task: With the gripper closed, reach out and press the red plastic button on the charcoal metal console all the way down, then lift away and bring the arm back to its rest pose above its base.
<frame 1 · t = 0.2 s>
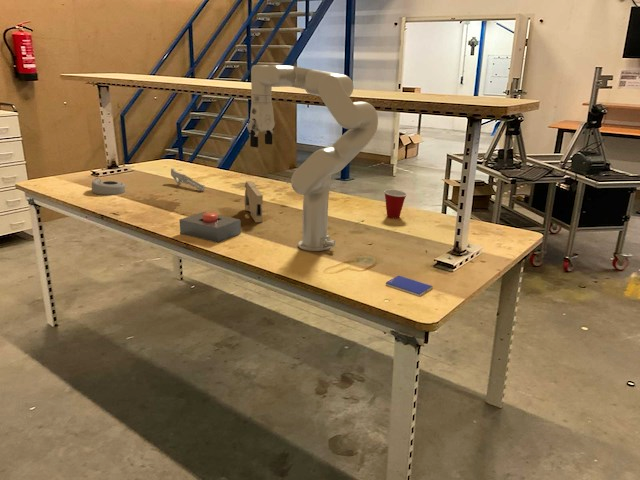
hand: (261, 145, 199), 36 cm above the workbench, tool pointing down, fingers open, 9 cm apart
plastic cup: (393, 217, 242), on the workbench
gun: (253, 216, 237), on the workbench
gun 2: (188, 187, 288), on the workbench
console: (210, 233, 210), on the workbench
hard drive: (408, 288, 165), on the workbench
button: (210, 218, 208), point 7 cm above the workbench, slide at 0.0 cm
turbocharger housing: (108, 192, 273), on the workbench
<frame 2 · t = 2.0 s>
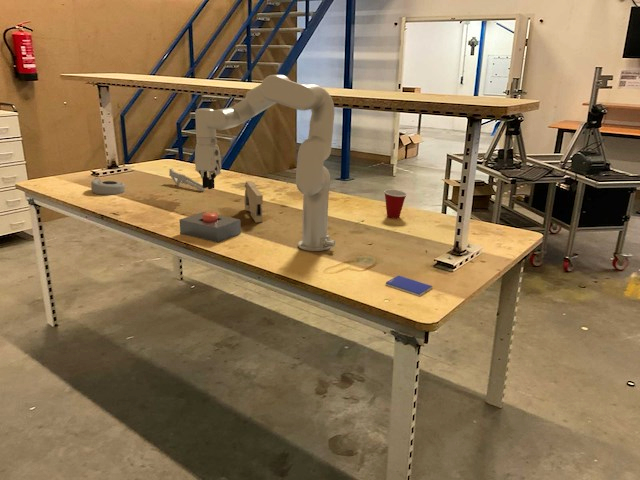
hand: (208, 187, 204), 19 cm above the workbench, tool pointing down, fingers closed
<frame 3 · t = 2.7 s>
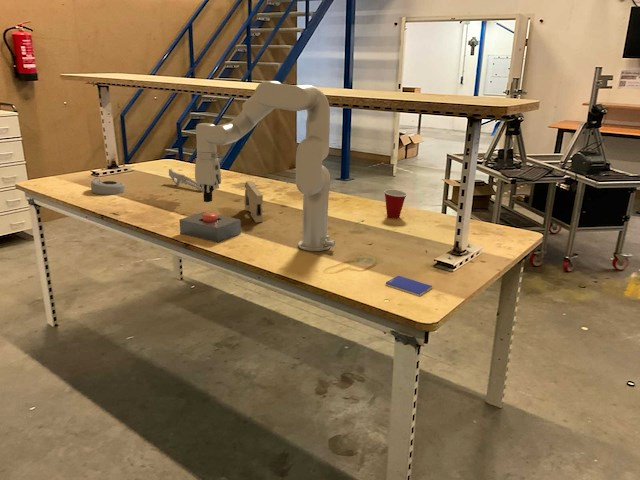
hand: (208, 201, 206), 14 cm above the workbench, tool pointing down, fingers closed
nothing on the workbench moved.
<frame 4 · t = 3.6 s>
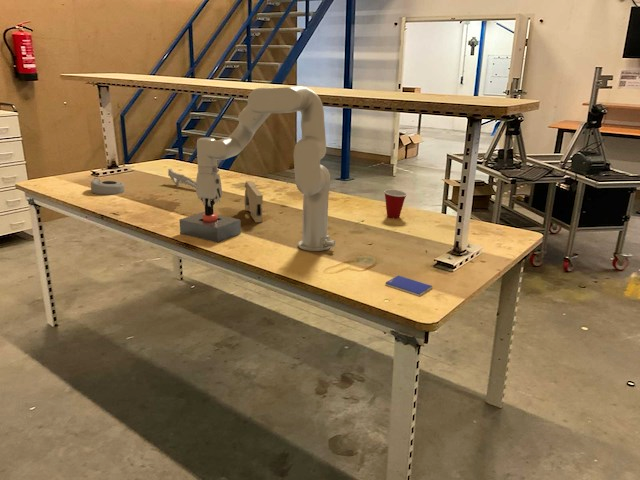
hand: (209, 214, 208), 8 cm above the workbench, tool pointing down, fingers closed
button: (210, 218, 208), point 6 cm above the workbench, slide at 0.0 cm, touching gripper
everything else where it was.
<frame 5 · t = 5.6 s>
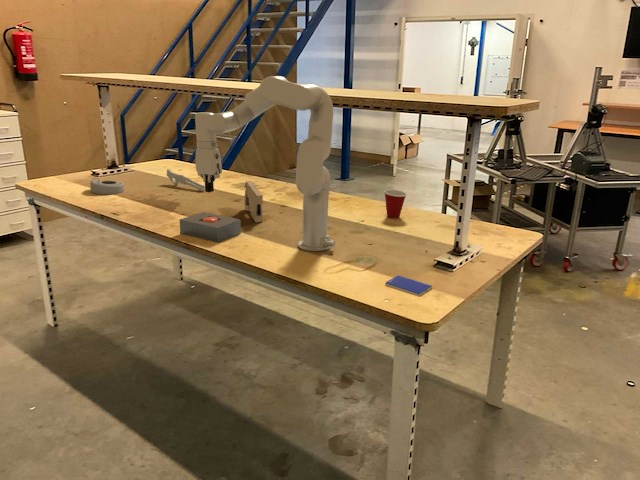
hand: (209, 191, 205), 18 cm above the workbench, tool pointing down, fingers closed
button: (210, 222, 209), point 5 cm above the workbench, slide at 1.8 cm
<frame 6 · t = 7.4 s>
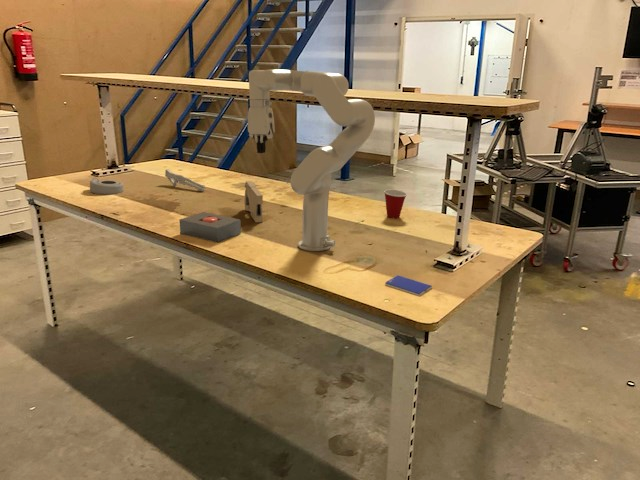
hand: (261, 152, 201), 33 cm above the workbench, tool pointing down, fingers closed
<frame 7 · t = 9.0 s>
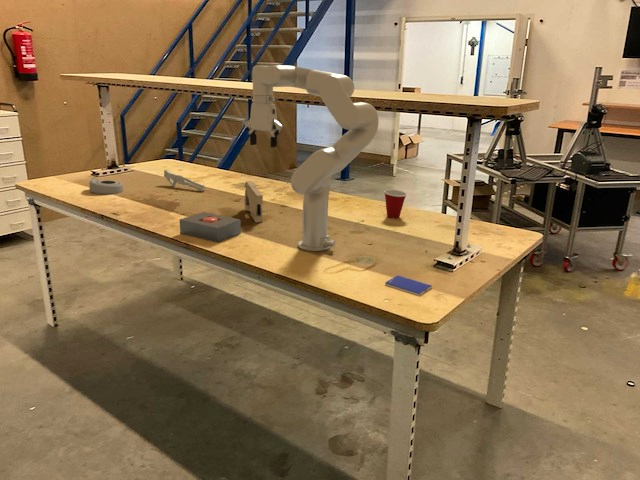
hand: (263, 145, 199), 36 cm above the workbench, tool pointing down, fingers open, 9 cm apart
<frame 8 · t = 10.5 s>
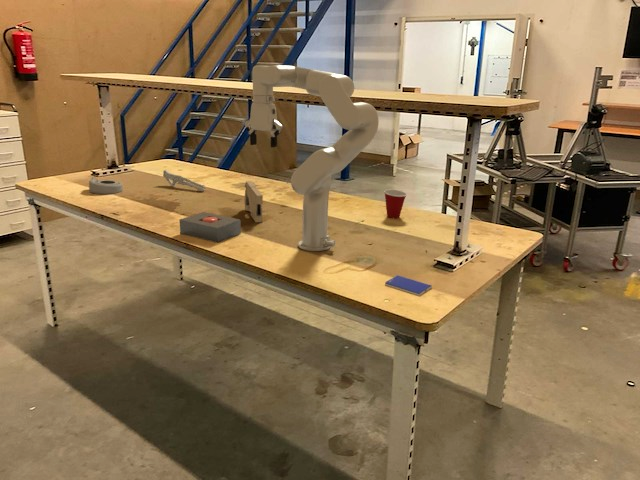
hand: (263, 145, 199), 36 cm above the workbench, tool pointing down, fingers open, 9 cm apart
at the end: button slide at 1.8 cm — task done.
